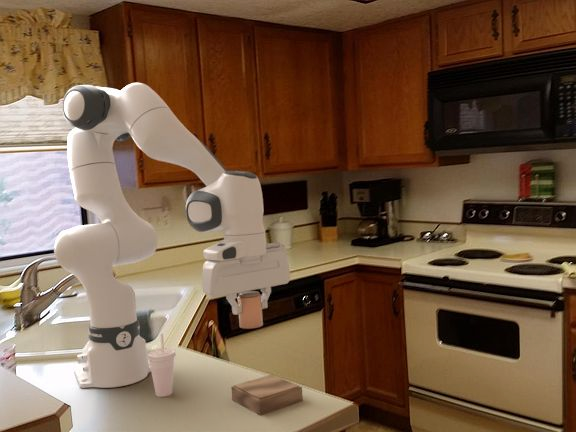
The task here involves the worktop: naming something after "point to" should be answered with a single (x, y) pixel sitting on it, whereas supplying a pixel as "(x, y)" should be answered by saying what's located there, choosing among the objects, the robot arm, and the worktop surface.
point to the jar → (250, 309)
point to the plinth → (266, 394)
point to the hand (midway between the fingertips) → (250, 311)
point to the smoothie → (162, 369)
